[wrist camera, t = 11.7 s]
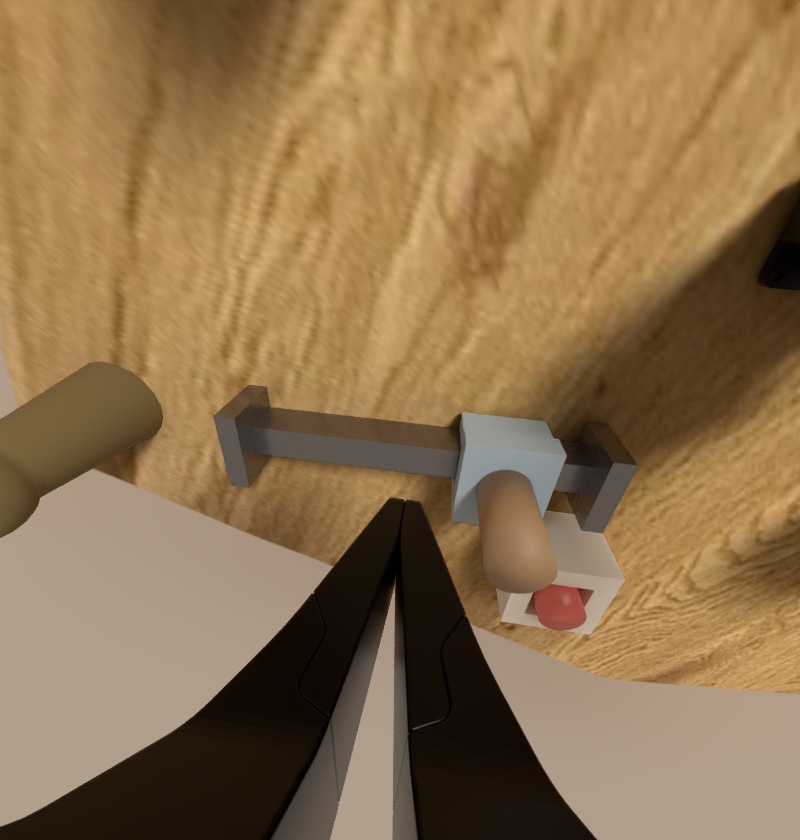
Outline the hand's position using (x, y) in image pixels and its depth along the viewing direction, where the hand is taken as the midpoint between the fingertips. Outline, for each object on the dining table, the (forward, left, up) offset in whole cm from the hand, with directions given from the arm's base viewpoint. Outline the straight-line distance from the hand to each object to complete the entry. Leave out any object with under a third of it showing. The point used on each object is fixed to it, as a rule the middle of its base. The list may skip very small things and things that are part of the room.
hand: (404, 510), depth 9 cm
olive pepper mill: (+21, +6, -13) cm, 25 cm away
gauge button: (-10, +14, -10) cm, 20 cm away
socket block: (-10, +14, -12) cm, 21 cm away
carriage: (-5, +6, -12) cm, 15 cm away
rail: (0, +6, -12) cm, 14 cm away
